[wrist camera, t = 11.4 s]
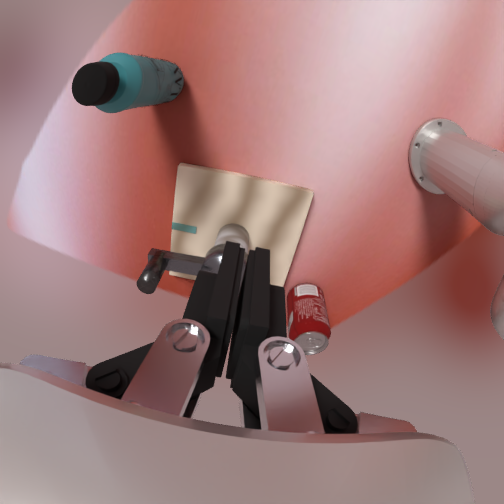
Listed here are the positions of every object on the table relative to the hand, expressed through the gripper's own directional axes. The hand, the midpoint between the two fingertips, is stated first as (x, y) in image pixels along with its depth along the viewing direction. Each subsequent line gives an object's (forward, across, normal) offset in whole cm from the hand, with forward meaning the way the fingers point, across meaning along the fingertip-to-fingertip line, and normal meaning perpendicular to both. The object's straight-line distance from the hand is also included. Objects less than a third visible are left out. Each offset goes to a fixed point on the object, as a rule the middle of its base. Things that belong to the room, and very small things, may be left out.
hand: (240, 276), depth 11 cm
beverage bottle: (+32, +15, -6) cm, 36 cm away
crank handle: (+23, +5, +16) cm, 29 cm away
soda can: (+32, -14, +26) cm, 44 cm away
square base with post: (+32, +1, +16) cm, 36 cm away
